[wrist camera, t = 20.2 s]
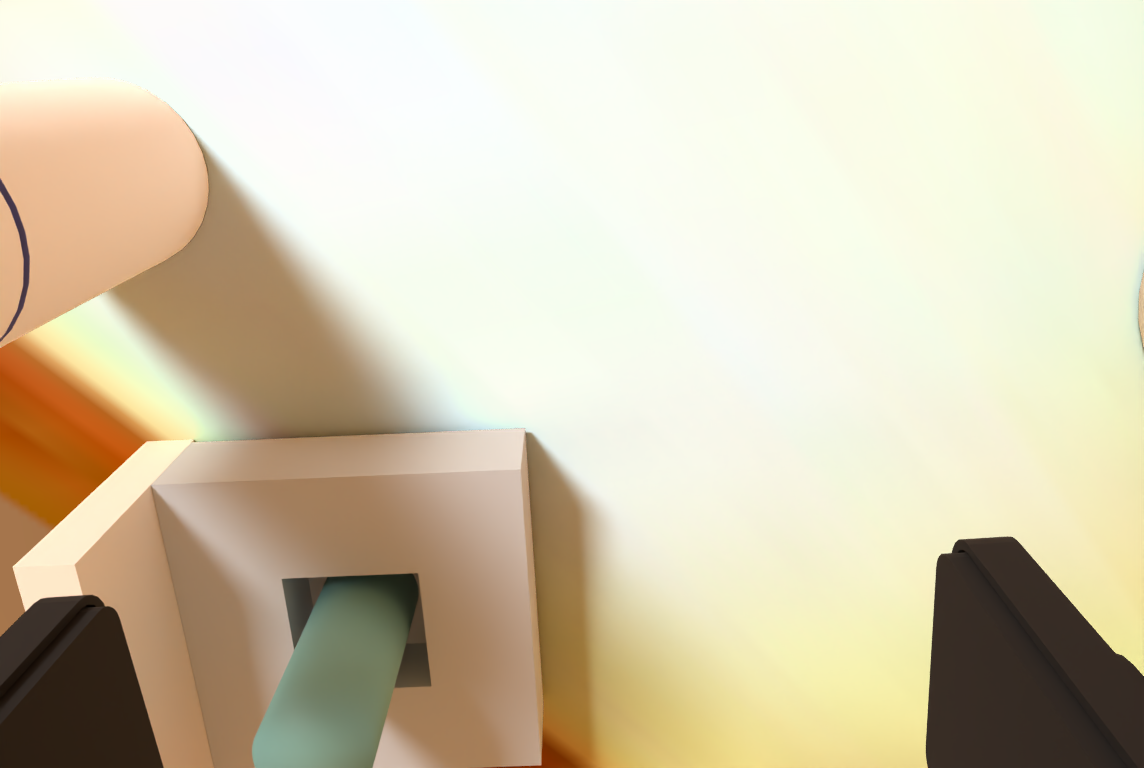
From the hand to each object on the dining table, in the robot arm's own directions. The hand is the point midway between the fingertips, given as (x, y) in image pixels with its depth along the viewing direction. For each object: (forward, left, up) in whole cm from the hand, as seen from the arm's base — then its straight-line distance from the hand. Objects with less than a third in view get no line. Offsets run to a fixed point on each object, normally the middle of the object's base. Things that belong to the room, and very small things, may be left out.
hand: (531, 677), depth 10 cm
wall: (+17, +15, -27) cm, 35 cm away
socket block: (+9, +15, -27) cm, 32 cm away
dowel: (+9, +15, -26) cm, 31 cm away
